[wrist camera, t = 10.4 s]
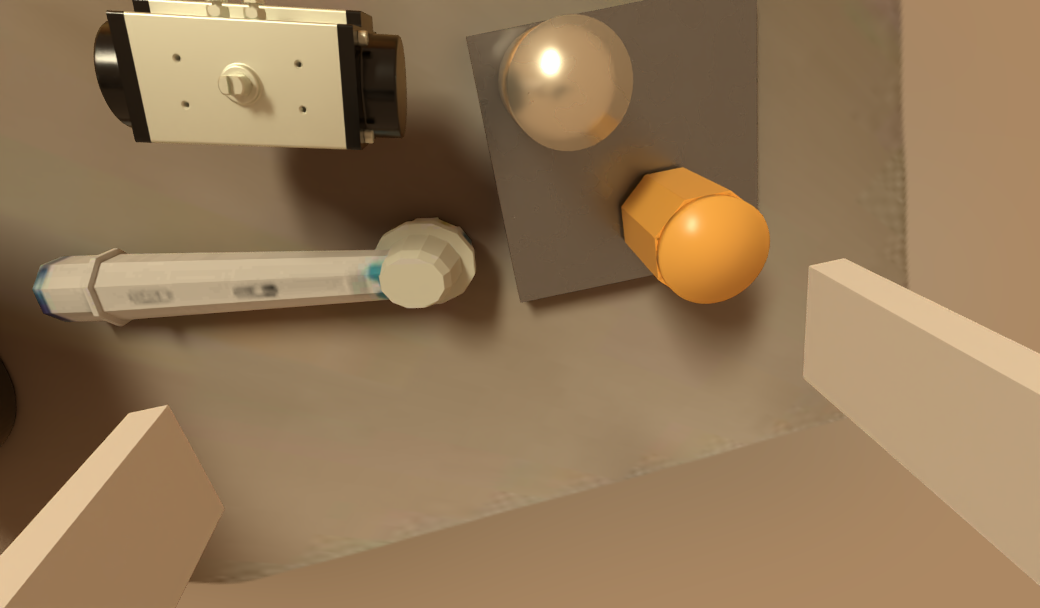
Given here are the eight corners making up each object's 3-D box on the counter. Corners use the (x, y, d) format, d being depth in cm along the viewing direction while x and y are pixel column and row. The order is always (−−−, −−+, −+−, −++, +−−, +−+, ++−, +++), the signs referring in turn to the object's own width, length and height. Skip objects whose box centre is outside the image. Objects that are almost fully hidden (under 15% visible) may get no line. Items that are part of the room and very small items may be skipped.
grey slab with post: (517, 291, 38) (533, 356, 29) (466, 38, 31) (466, 29, 23) (743, 244, 38) (822, 295, 30) (739, -18, 31) (839, -47, 23)
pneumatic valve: (417, 124, 33) (393, 155, 22) (212, 116, 32) (78, 144, 21) (414, 21, 31) (386, -2, 20) (193, 8, 29) (33, -24, 18)
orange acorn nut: (627, 266, 35) (664, 313, 29) (618, 180, 33) (656, 210, 26) (712, 248, 35) (769, 291, 29) (709, 161, 33) (770, 186, 26)
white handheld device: (13, 260, 30) (460, 242, 29) (102, 226, 36) (475, 210, 35) (51, 344, 32) (469, 331, 31) (130, 298, 38) (482, 286, 37)
